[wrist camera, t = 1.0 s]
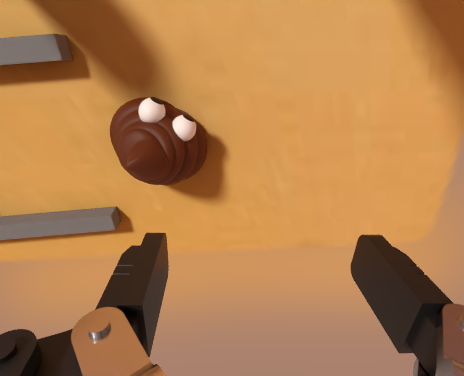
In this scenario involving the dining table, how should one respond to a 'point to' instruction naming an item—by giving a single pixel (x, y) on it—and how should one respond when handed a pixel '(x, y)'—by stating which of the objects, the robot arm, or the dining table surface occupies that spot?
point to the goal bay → (52, 222)
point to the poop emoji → (157, 141)
